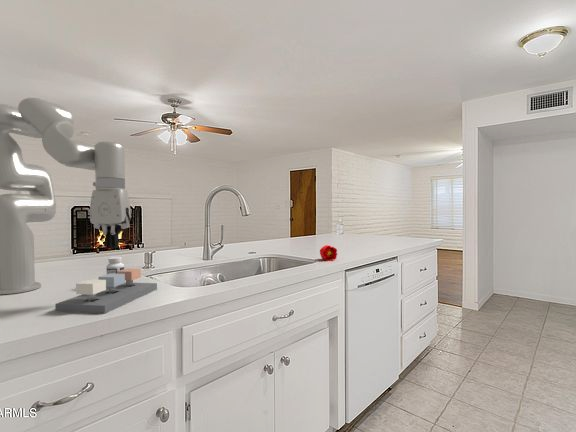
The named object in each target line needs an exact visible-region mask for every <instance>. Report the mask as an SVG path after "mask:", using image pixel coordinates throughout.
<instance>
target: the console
mask: <svg viewBox="0 0 576 432" xmlns="http://www.w3.org/2000/svg"><path fill="white" fill-rule="evenodd" d="M156 290H158V283H157V282H133V285H131V286H126V281H125V283H124V284H121V285H118V286H116V292H108V287H106V290H105V291H102V292H99V293H96V299H95V300H90V301H89V300H87V295H86V294H78V295H76V296H74V297H71V298H68V299H65V300H61V301H59V302H57V303H55V308H54V309H55V312H56V313H57V312H60V313H64V312H65V313H84V314H87V313H88V314H107V313H109V312H111V311H113V310H116V309H117V308H120V307H122V306H124V305H127V304H129V303H130V302H133V301H135V300H137V299H139V298H141V297H144V296H145V295H148V294H150V293H152V292H154V291H156Z"/></svg>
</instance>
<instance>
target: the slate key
mask: <svg viewBox="0 0 576 432" xmlns="http://www.w3.org/2000/svg"><path fill="white" fill-rule="evenodd" d="M98 280H106V287H108V292H116V286H118V285H121V284H124V283H125V282H126V281H125V274H111V273H110V274H107V273H106V274H103V275H100V276H98Z"/></svg>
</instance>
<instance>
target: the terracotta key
mask: <svg viewBox="0 0 576 432" xmlns="http://www.w3.org/2000/svg"><path fill="white" fill-rule="evenodd" d="M117 274H125V282H126V286H131V285H133V283H134V281H135V280H138V279H140V278H141V277H142V269H141V268H124V270H120V271H117Z"/></svg>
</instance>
